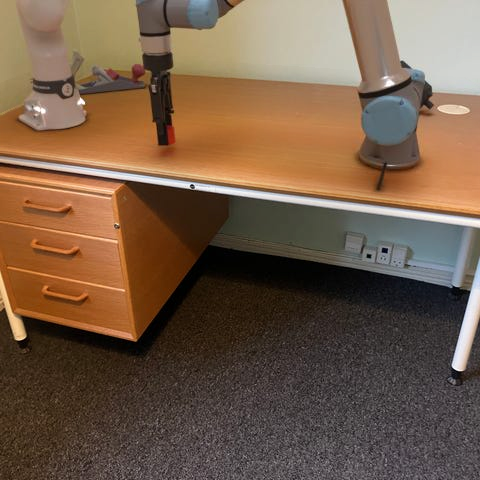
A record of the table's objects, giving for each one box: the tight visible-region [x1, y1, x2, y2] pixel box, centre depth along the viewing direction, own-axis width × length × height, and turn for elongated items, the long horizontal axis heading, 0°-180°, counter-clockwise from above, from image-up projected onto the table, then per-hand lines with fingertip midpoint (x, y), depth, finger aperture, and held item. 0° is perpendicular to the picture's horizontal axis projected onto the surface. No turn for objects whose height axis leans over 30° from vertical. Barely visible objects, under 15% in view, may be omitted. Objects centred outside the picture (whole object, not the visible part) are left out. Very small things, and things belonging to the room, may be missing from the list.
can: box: [167, 124, 176, 146], centre depth 143 cm, size 5×5×4 cm
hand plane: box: [70, 48, 146, 95], centre depth 194 cm, size 7×31×15 cm, turn 107°
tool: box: [400, 60, 435, 111], centre depth 170 cm, size 6×19×15 cm, turn 51°
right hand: (165, 141), depth 144 cm, fingers closed on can, 5 cm apart
